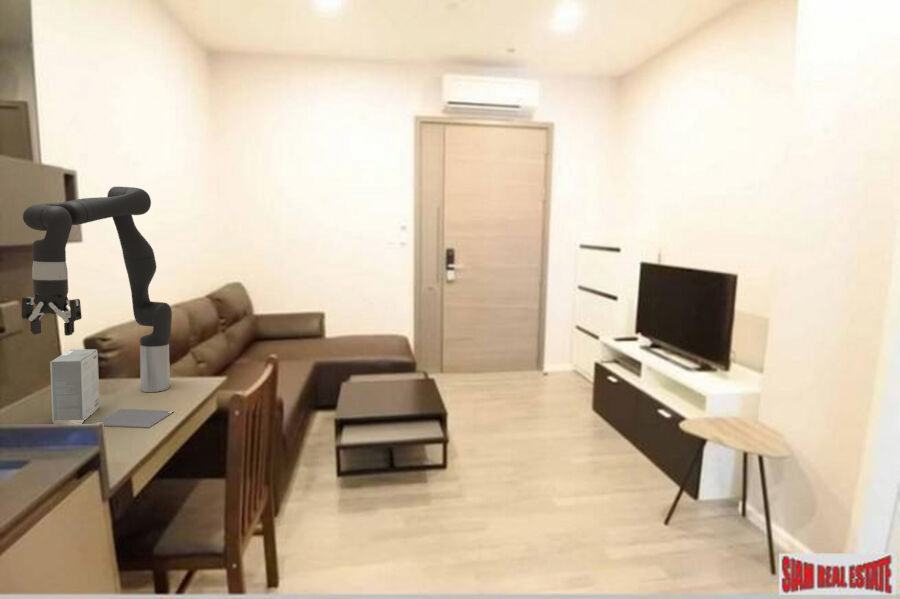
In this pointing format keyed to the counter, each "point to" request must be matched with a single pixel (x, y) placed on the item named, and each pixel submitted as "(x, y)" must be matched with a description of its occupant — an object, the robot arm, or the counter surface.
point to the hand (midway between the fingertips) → (52, 334)
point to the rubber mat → (134, 418)
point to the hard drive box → (75, 385)
